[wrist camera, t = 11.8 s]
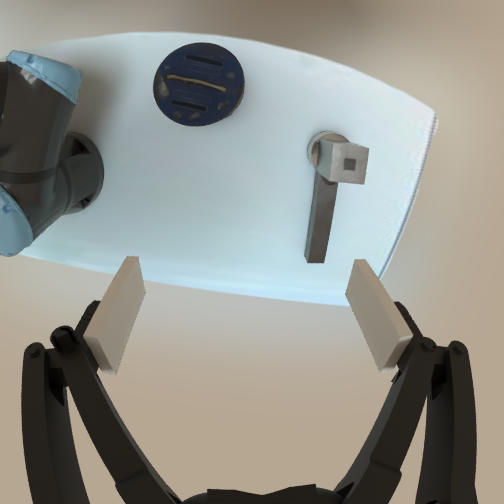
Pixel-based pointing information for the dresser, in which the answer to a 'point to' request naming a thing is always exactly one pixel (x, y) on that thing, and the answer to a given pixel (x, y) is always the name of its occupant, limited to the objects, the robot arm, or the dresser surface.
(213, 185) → the dresser surface
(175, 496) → the robot arm
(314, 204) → the ratchet
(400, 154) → the dresser surface
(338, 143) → the socket
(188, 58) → the canister
